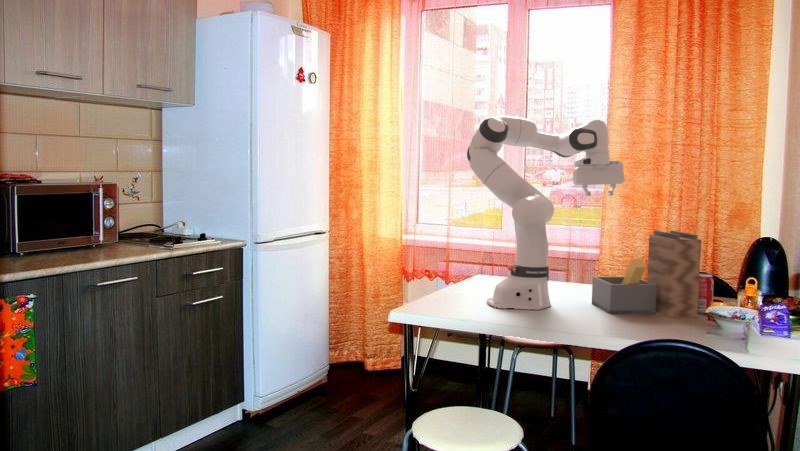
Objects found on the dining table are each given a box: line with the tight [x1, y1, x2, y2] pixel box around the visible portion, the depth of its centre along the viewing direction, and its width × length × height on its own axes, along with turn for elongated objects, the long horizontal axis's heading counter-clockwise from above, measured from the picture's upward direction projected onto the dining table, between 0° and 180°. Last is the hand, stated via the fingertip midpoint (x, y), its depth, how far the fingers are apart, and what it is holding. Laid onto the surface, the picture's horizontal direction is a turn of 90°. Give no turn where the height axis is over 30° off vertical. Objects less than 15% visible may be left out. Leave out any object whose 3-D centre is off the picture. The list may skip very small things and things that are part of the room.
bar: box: [621, 258, 647, 284], centre depth 219 cm, size 4×20×4 cm
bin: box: [591, 276, 657, 315], centre depth 224 cm, size 16×16×10 cm
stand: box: [646, 230, 702, 318], centre depth 219 cm, size 10×16×28 cm, turn 5°
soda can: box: [697, 273, 715, 315], centre depth 221 cm, size 7×7×13 cm
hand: (599, 195), depth 252 cm, fingers open, 8 cm apart
